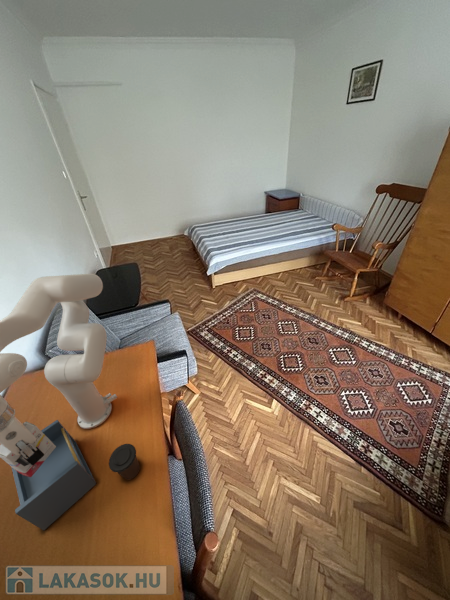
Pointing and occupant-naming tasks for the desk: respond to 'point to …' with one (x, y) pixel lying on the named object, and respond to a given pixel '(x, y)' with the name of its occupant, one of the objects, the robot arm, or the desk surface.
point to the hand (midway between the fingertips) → (32, 453)
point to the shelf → (54, 480)
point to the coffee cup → (124, 461)
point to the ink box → (40, 443)
